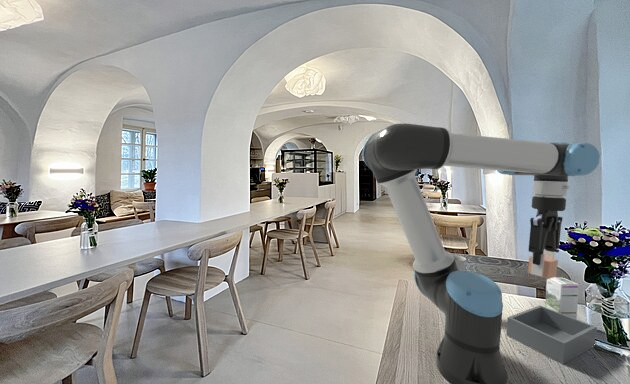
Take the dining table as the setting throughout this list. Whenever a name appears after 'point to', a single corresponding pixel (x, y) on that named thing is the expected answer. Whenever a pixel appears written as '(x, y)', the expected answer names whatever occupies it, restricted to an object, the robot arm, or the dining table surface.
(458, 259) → the chalice
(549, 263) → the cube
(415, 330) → the dining table surface
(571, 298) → the syrup box
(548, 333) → the tote
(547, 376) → the dining table surface
